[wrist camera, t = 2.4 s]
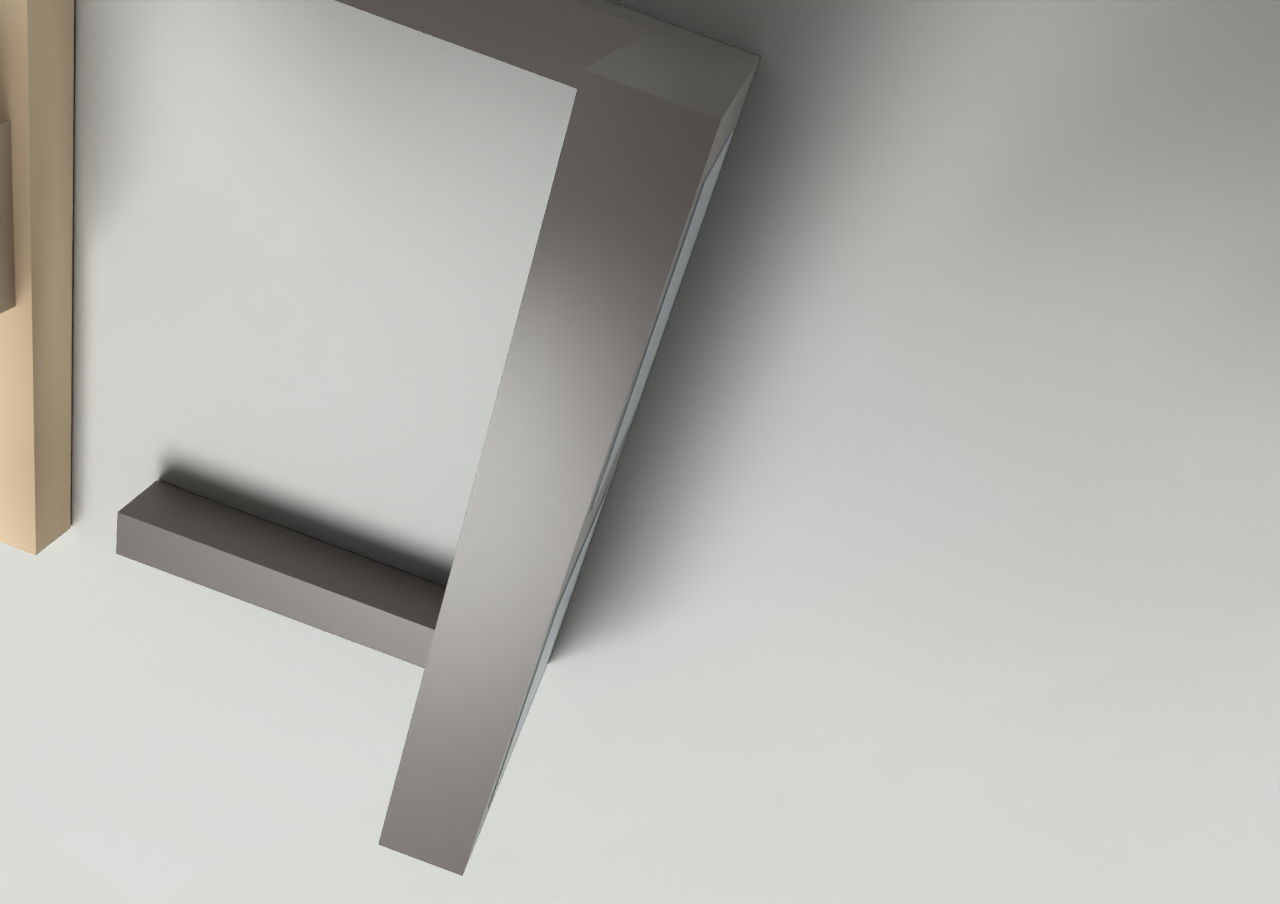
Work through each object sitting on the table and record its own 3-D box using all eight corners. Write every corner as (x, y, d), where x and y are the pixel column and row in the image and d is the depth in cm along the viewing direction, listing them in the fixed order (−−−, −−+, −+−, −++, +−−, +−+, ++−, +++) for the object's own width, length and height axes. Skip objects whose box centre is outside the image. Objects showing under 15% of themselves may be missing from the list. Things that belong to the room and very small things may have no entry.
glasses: (761, 57, 14) (723, 120, 9) (547, 666, 20) (463, 876, 15) (195, -150, 14) (-102, -181, 9) (154, 520, 20) (-40, 688, 15)
